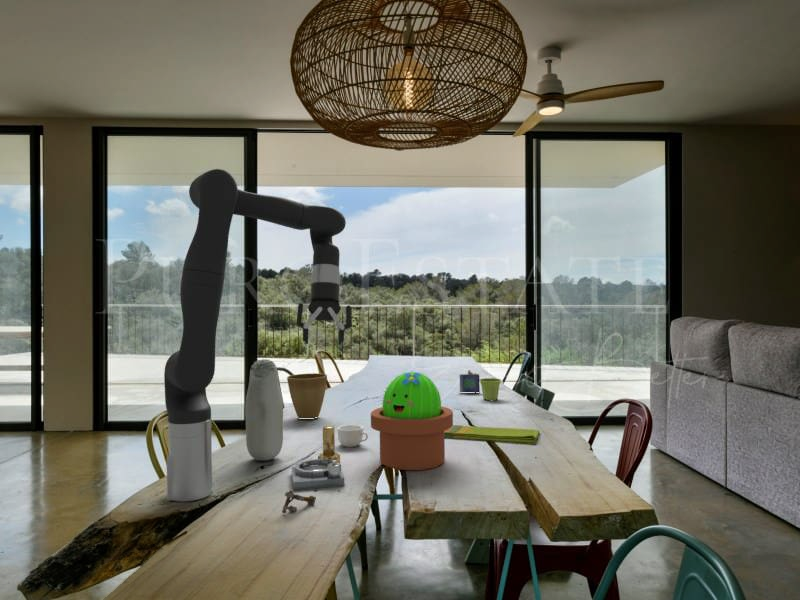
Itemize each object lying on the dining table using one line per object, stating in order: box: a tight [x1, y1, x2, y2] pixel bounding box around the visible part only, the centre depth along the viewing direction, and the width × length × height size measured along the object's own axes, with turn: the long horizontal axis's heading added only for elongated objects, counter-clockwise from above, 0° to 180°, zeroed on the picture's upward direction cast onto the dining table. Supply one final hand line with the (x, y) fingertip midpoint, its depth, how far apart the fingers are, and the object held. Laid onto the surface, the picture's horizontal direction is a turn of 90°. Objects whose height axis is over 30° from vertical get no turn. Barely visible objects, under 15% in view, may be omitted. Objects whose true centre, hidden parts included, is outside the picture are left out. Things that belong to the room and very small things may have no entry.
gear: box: [317, 425, 341, 464], centre depth 147 cm, size 6×6×10 cm
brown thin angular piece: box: [281, 490, 317, 514], centre depth 116 cm, size 2×8×4 cm, turn 139°
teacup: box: [337, 424, 369, 448], centre depth 165 cm, size 10×8×5 cm
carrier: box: [291, 458, 345, 491], centre depth 135 cm, size 12×13×6 cm
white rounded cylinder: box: [244, 358, 284, 462], centre depth 152 cm, size 10×10×28 cm
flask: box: [459, 369, 481, 393], centre depth 254 cm, size 9×3×11 cm, turn 84°
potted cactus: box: [370, 370, 454, 471], centre depth 149 cm, size 22×22×25 cm
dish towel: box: [444, 424, 540, 445], centre depth 177 cm, size 15×36×3 cm, turn 71°
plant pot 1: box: [286, 373, 328, 418], centre depth 205 cm, size 15×15×16 cm
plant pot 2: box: [479, 377, 502, 401], centre depth 237 cm, size 9×9×9 cm
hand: (323, 344), depth 142 cm, fingers open, 8 cm apart
